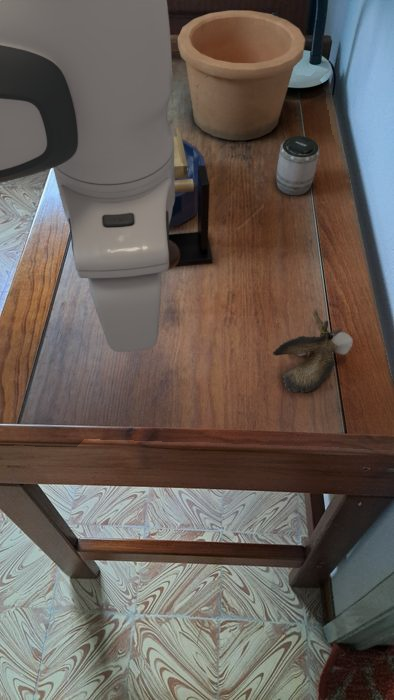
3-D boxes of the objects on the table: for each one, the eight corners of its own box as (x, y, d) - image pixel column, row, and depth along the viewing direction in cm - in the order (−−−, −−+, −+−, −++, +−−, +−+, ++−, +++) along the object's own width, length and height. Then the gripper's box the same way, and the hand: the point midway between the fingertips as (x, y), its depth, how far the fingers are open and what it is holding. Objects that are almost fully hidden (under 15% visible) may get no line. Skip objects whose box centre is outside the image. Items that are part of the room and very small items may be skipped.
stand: (112, 272, 75) (97, 198, 64) (110, 244, 78) (96, 169, 67) (212, 263, 76) (215, 188, 65) (206, 235, 80) (208, 160, 69)
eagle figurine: (293, 319, 69) (257, 354, 63) (332, 299, 63) (296, 336, 58) (325, 364, 69) (292, 402, 64) (366, 349, 64) (334, 390, 58)
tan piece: (125, 280, 60) (121, 258, 58) (116, 153, 75) (113, 131, 72) (208, 272, 61) (209, 250, 58) (183, 148, 76) (183, 126, 73)
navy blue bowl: (103, 236, 79) (97, 205, 75) (100, 169, 89) (95, 138, 84) (211, 227, 81) (212, 196, 76) (197, 161, 91) (197, 130, 86)
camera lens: (284, 169, 89) (291, 128, 83) (317, 181, 87) (327, 139, 81) (268, 189, 86) (274, 147, 80) (302, 201, 84) (311, 160, 78)
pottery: (297, 150, 93) (312, 69, 81) (177, 148, 93) (174, 67, 81) (287, 88, 105) (299, 10, 93) (181, 86, 105) (180, 8, 93)
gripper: (75, 108, 44) (98, 229, 56) (73, 281, 33) (103, 390, 44) (148, 104, 45) (156, 225, 56) (171, 273, 33) (175, 383, 45)
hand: (132, 299), depth 50 cm, fingers closed on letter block, 4 cm apart
